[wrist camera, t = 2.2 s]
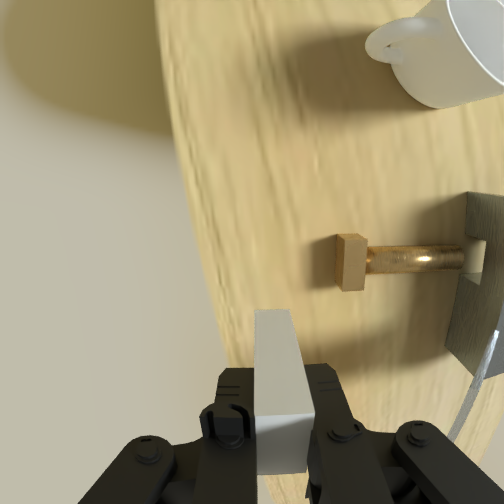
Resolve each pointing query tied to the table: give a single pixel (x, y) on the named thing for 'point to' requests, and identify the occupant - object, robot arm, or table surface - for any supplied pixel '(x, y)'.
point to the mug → (445, 51)
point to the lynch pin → (388, 260)
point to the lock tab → (474, 387)
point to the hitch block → (481, 290)
